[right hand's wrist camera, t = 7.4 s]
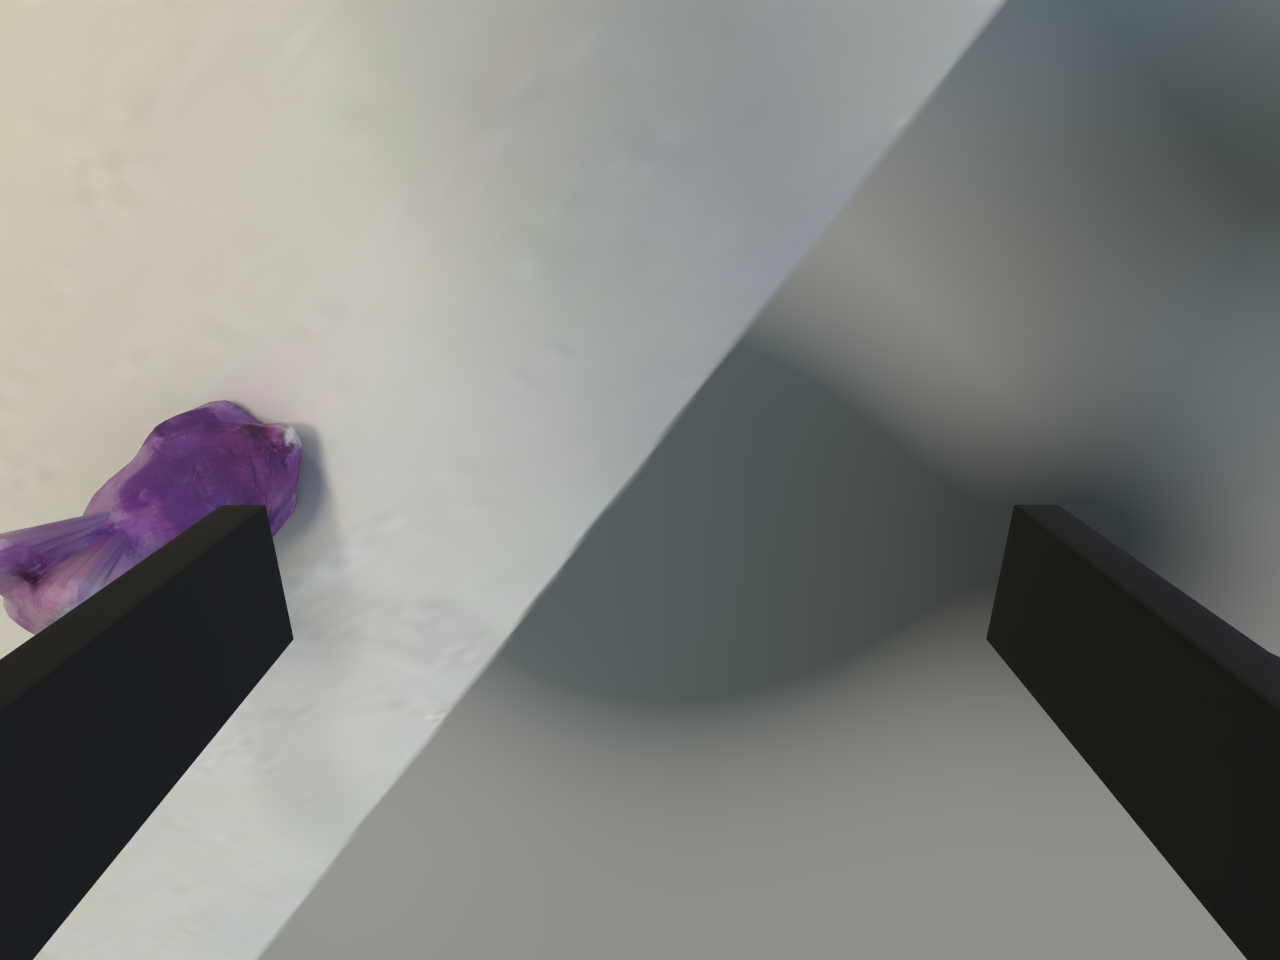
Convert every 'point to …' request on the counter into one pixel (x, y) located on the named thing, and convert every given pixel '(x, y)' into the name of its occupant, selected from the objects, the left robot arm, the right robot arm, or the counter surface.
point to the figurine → (150, 508)
